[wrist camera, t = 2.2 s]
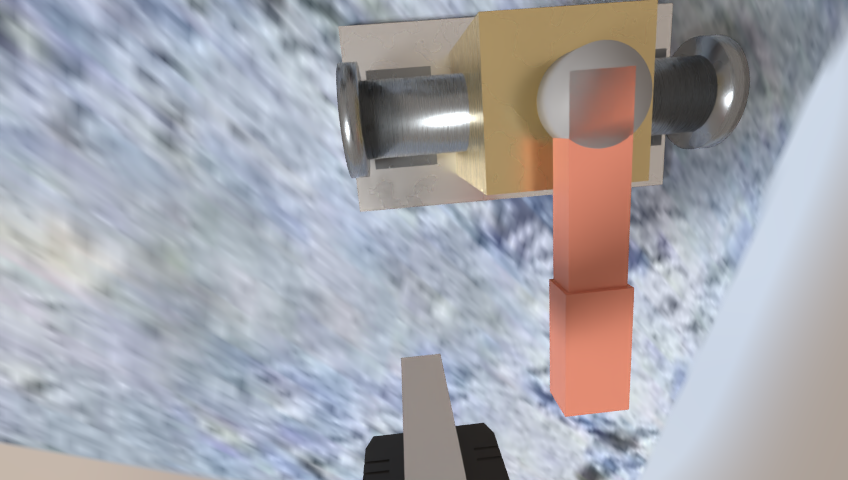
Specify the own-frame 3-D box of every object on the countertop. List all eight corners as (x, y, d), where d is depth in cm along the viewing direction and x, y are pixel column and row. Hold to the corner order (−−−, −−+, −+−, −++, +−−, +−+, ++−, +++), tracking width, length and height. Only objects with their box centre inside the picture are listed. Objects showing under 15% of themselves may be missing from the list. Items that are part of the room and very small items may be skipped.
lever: (535, 52, 18) (553, 42, 16) (629, 45, 18) (658, 34, 16) (540, 392, 22) (554, 417, 20) (617, 383, 22) (639, 408, 20)
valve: (340, 30, 29) (303, -41, 17) (663, 7, 30) (843, -75, 18) (361, 209, 32) (342, 256, 20) (654, 182, 33) (802, 212, 21)
